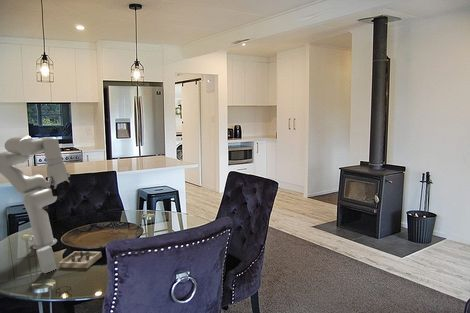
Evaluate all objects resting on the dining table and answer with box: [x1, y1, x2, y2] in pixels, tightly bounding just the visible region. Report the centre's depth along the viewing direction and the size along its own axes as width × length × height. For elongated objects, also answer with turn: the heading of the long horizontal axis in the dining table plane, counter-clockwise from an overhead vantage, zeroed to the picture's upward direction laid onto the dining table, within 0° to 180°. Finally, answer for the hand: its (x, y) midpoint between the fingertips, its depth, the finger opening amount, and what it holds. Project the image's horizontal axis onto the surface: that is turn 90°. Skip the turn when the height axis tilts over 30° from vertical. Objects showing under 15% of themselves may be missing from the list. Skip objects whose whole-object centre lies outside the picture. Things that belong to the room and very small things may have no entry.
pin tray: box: [58, 250, 103, 269], centre depth 192 cm, size 16×12×4 cm
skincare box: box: [35, 246, 58, 273], centre depth 185 cm, size 6×4×12 cm
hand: (62, 193), depth 200 cm, fingers open, 9 cm apart
